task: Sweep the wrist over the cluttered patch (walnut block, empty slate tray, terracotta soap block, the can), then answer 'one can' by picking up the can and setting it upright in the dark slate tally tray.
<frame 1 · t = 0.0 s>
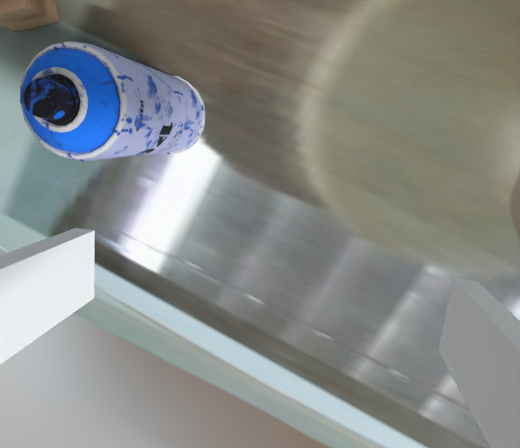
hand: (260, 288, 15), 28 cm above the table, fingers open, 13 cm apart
walnut block: (32, 1, 42), on the table
aerosol can: (169, 115, 43), on the table
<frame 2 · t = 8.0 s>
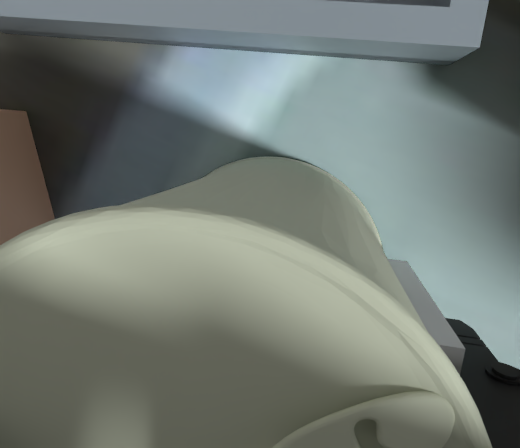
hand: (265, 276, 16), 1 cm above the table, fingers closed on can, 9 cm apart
can: (269, 267, 17), on the table, touching gripper
soap block: (7, 188, 18), on the table
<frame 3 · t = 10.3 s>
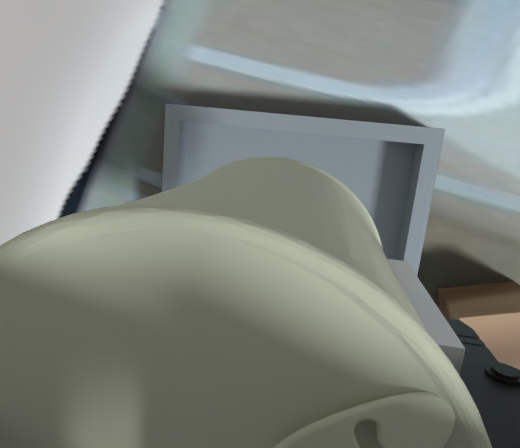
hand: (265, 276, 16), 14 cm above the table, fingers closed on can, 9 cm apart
can: (269, 267, 17), point 13 cm above the table, touching gripper
walnut block: (477, 317, 29), on the table
tray: (291, 211, 30), on the table
when the fingers open (4 cm above the table, at t = 12.6 s): can drops 2 cm, resting on tray.
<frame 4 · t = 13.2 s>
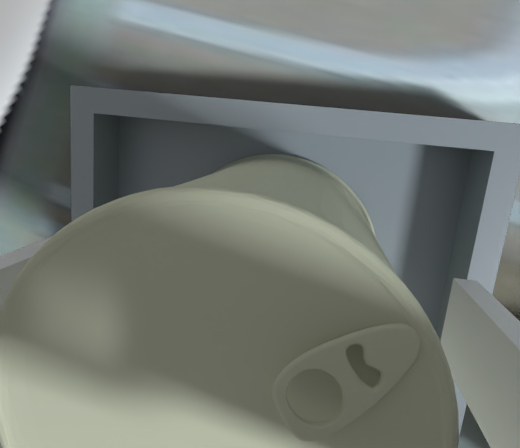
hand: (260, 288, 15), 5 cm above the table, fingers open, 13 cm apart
can: (273, 254, 19), point 1 cm above the table, touching tray
tray: (275, 251, 20), on the table
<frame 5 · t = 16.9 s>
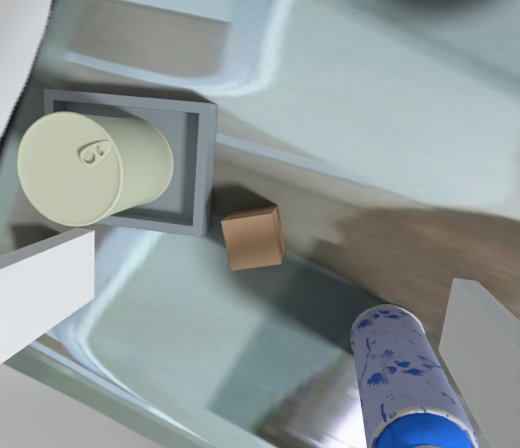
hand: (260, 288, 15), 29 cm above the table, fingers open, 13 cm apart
can: (133, 161, 44), point 1 cm above the table, touching tray
walnut block: (258, 231, 44), on the table
aerosol can: (386, 337, 45), on the table
tray: (136, 161, 45), on the table
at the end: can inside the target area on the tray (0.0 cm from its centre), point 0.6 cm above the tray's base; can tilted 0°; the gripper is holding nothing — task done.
